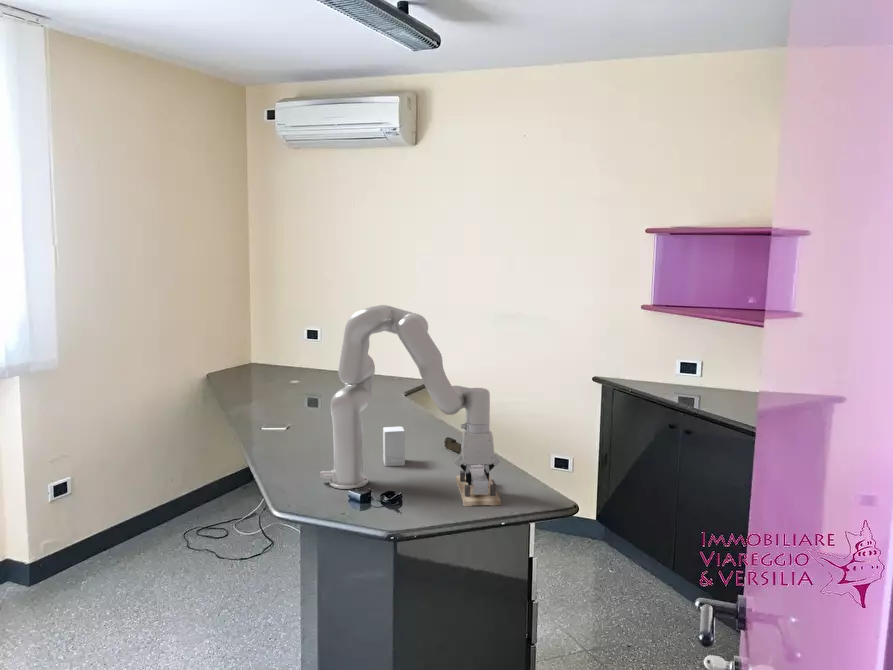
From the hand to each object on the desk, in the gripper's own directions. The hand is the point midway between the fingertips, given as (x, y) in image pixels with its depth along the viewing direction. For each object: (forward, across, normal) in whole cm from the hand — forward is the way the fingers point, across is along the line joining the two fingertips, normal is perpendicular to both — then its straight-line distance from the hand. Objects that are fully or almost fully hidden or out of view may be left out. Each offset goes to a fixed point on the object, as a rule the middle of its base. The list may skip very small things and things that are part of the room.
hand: (477, 483), depth 213 cm
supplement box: (+3, -26, +33) cm, 42 cm away
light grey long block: (0, 0, 0) cm, 0 cm away
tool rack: (+3, 0, 0) cm, 3 cm away
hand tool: (+3, -2, +44) cm, 44 cm away
